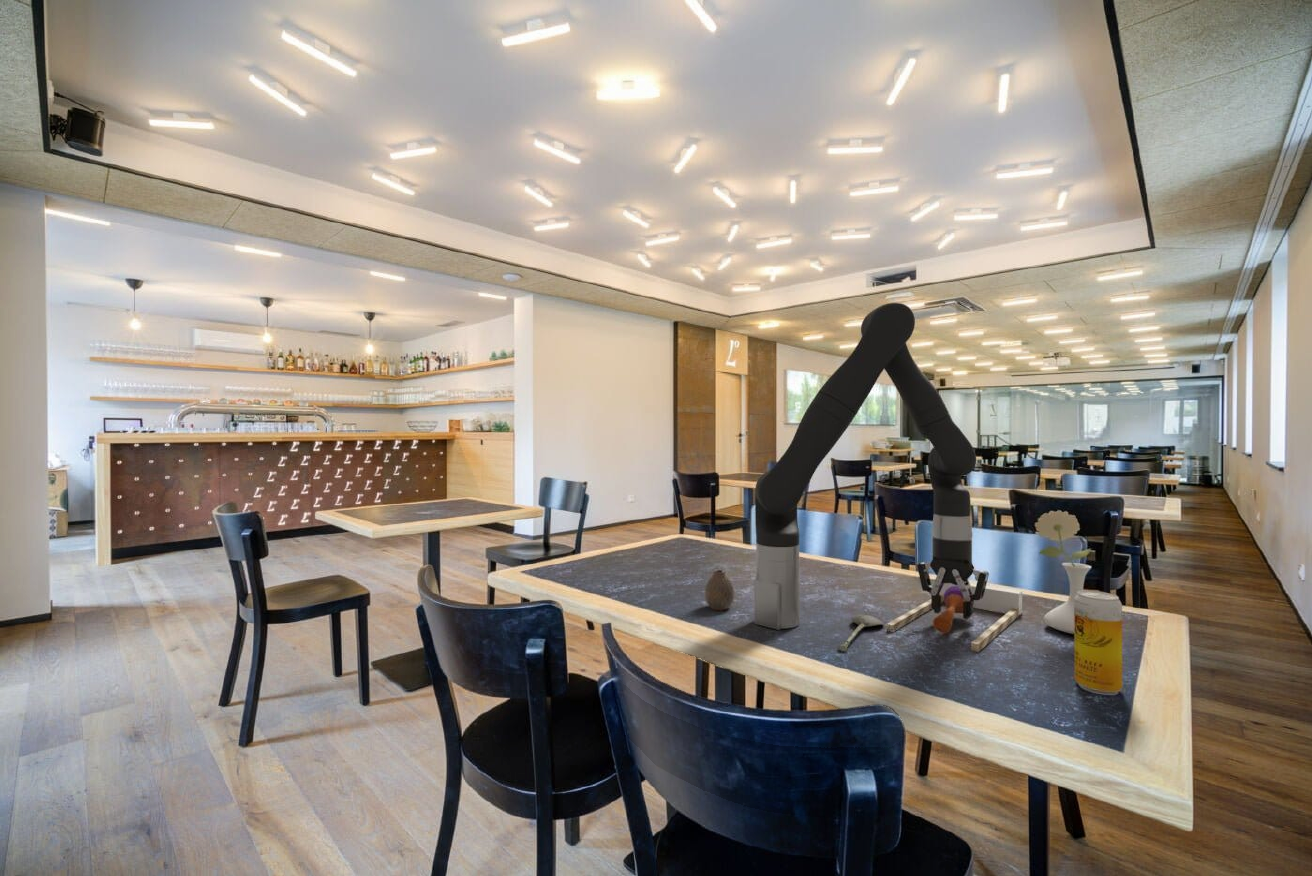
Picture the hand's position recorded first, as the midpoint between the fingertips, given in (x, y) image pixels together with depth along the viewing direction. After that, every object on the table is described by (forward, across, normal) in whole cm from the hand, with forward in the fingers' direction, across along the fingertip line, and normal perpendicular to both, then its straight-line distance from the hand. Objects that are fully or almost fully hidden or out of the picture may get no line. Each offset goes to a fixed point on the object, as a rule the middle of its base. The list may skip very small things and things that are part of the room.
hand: (952, 614), depth 123 cm
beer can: (+3, +27, -17) cm, 32 cm away
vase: (+3, -44, -24) cm, 50 cm away
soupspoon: (+3, -12, -19) cm, 23 cm away
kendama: (+1, 0, 0) cm, 1 cm away
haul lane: (+2, 0, +3) cm, 4 cm away
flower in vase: (+3, +19, +14) cm, 24 cm away
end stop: (+2, 0, +20) cm, 20 cm away
